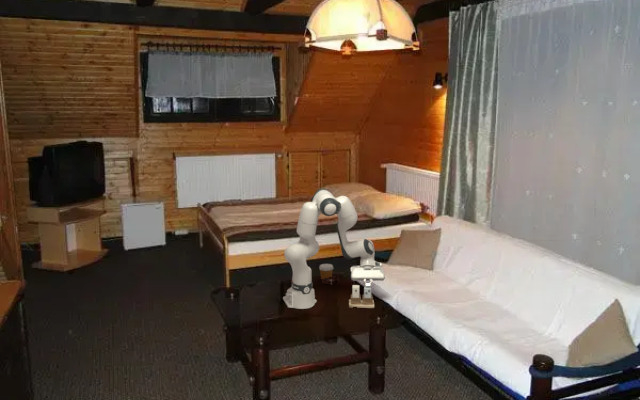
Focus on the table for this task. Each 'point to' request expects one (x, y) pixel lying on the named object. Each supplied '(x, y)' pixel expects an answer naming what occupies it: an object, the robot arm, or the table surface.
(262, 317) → the table surface
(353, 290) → the key one
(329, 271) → the disposable coffee cup
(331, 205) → the robot arm
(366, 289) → the key two
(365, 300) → the key console
